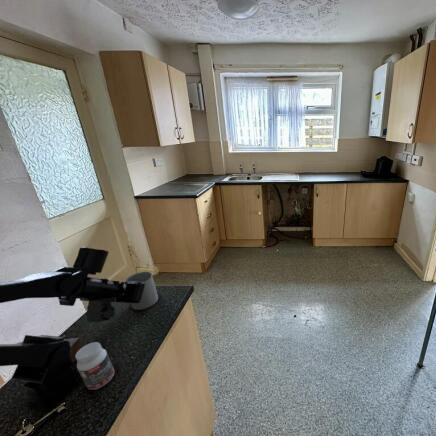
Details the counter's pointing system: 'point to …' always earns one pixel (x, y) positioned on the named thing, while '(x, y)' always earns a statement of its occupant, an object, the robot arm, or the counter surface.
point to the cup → (145, 290)
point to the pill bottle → (94, 365)
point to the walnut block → (74, 348)
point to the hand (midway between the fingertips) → (132, 293)
